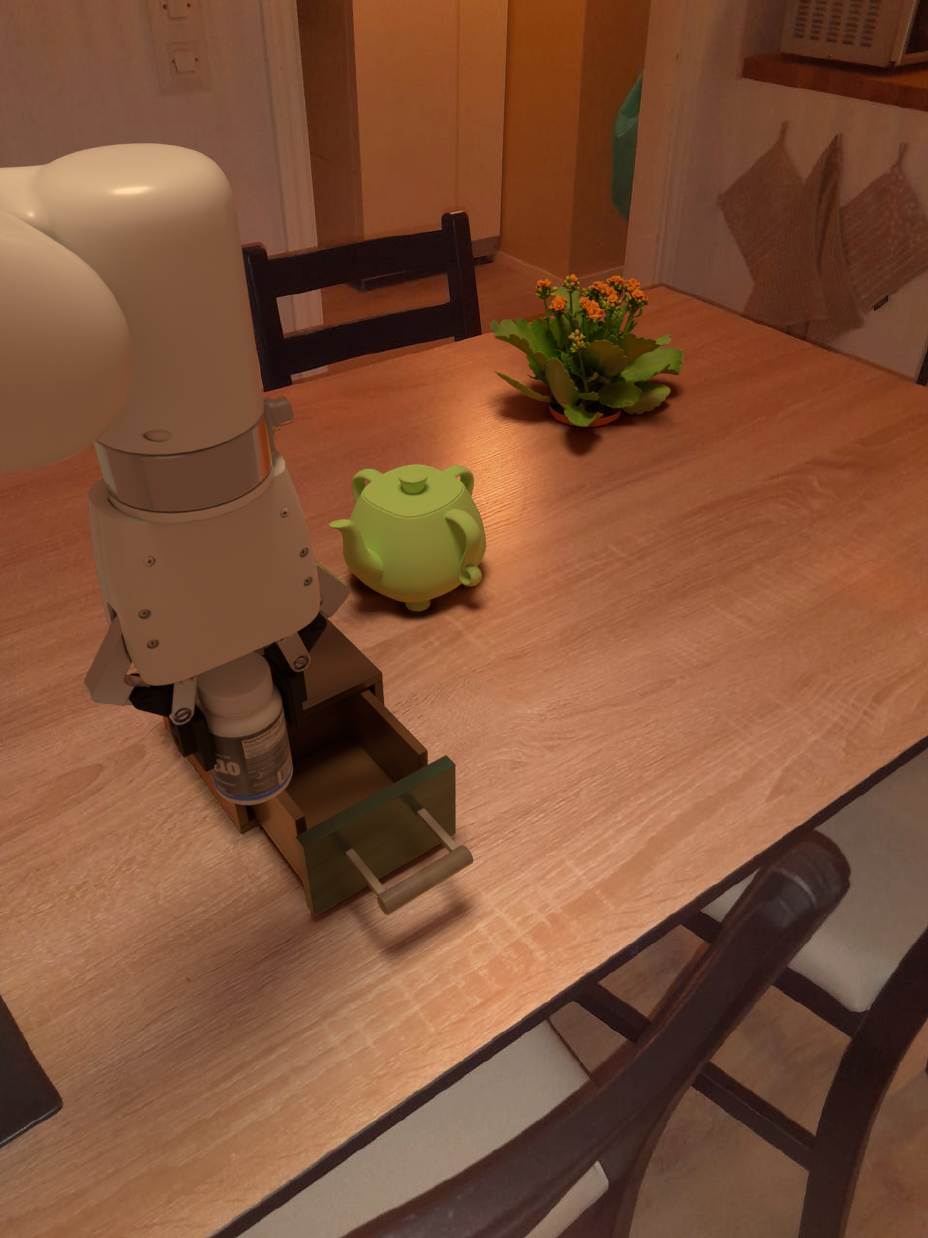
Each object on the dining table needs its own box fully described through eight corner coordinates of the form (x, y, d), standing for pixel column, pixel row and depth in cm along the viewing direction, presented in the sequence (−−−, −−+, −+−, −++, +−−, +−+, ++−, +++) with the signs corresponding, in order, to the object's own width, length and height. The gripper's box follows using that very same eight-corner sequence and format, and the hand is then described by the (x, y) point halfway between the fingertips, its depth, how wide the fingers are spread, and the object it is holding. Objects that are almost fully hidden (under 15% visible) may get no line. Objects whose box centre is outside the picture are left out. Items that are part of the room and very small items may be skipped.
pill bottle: (197, 775, 57) (170, 671, 52) (264, 735, 60) (244, 632, 55) (243, 821, 55) (218, 716, 49) (310, 777, 57) (294, 672, 52)
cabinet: (388, 757, 81) (382, 672, 75) (241, 834, 75) (222, 748, 69) (302, 664, 91) (291, 582, 85) (165, 726, 84) (142, 642, 78)
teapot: (482, 634, 94) (485, 525, 86) (337, 630, 95) (327, 521, 87) (485, 540, 107) (488, 438, 99) (356, 537, 107) (349, 434, 99)
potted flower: (651, 472, 118) (671, 334, 107) (467, 442, 124) (468, 309, 113) (680, 386, 137) (699, 262, 126) (519, 364, 143) (524, 243, 132)
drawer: (502, 884, 71) (505, 814, 66) (357, 977, 65) (349, 908, 60) (362, 732, 82) (356, 663, 78) (229, 799, 77) (214, 729, 72)
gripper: (311, 373, 50) (340, 642, 61) (-33, 474, 42) (75, 759, 54) (389, 429, 45) (405, 709, 57) (19, 554, 37) (125, 849, 49)
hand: (244, 731), depth 55 cm, fingers closed on pill bottle, 4 cm apart
